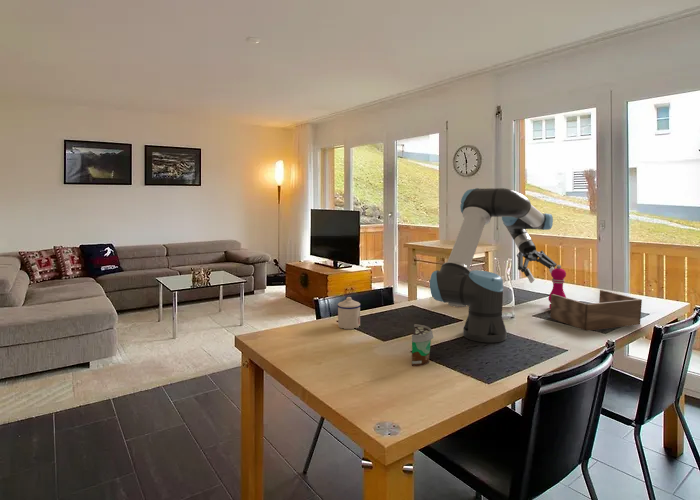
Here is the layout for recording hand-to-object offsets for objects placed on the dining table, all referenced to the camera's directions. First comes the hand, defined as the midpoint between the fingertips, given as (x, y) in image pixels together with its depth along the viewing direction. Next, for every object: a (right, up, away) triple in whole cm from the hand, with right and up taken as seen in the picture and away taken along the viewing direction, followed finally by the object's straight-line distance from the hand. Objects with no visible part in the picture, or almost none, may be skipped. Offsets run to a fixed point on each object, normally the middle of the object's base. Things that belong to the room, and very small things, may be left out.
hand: (545, 280), depth 205 cm
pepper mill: (+2, -12, -7) cm, 15 cm away
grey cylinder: (-37, -12, +2) cm, 39 cm away
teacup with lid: (-91, -16, -29) cm, 97 cm away
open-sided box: (+8, -15, -26) cm, 31 cm away
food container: (-68, -21, -68) cm, 98 cm away
